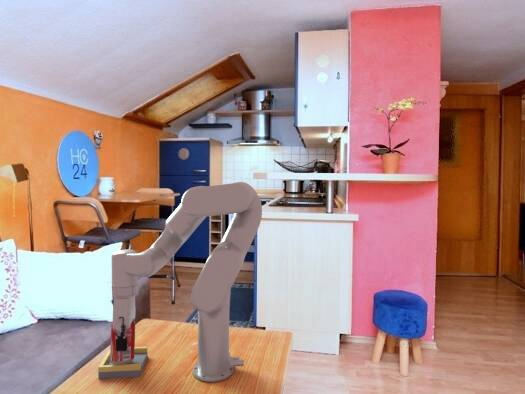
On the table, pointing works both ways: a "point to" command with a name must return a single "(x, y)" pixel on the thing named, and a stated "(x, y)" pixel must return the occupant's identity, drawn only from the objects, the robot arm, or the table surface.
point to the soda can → (128, 355)
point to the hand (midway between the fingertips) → (125, 343)
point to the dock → (124, 365)
